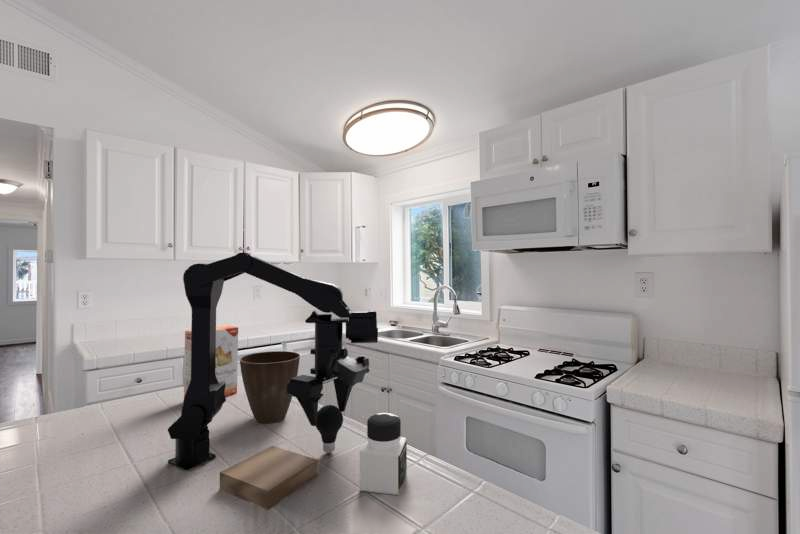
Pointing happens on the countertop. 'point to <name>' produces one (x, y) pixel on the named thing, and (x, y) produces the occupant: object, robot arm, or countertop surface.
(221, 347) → the cracker box
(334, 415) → the light bulb
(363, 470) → the medicine bottle
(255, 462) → the walnut base
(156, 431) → the countertop surface
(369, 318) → the robot arm
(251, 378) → the plant pot
